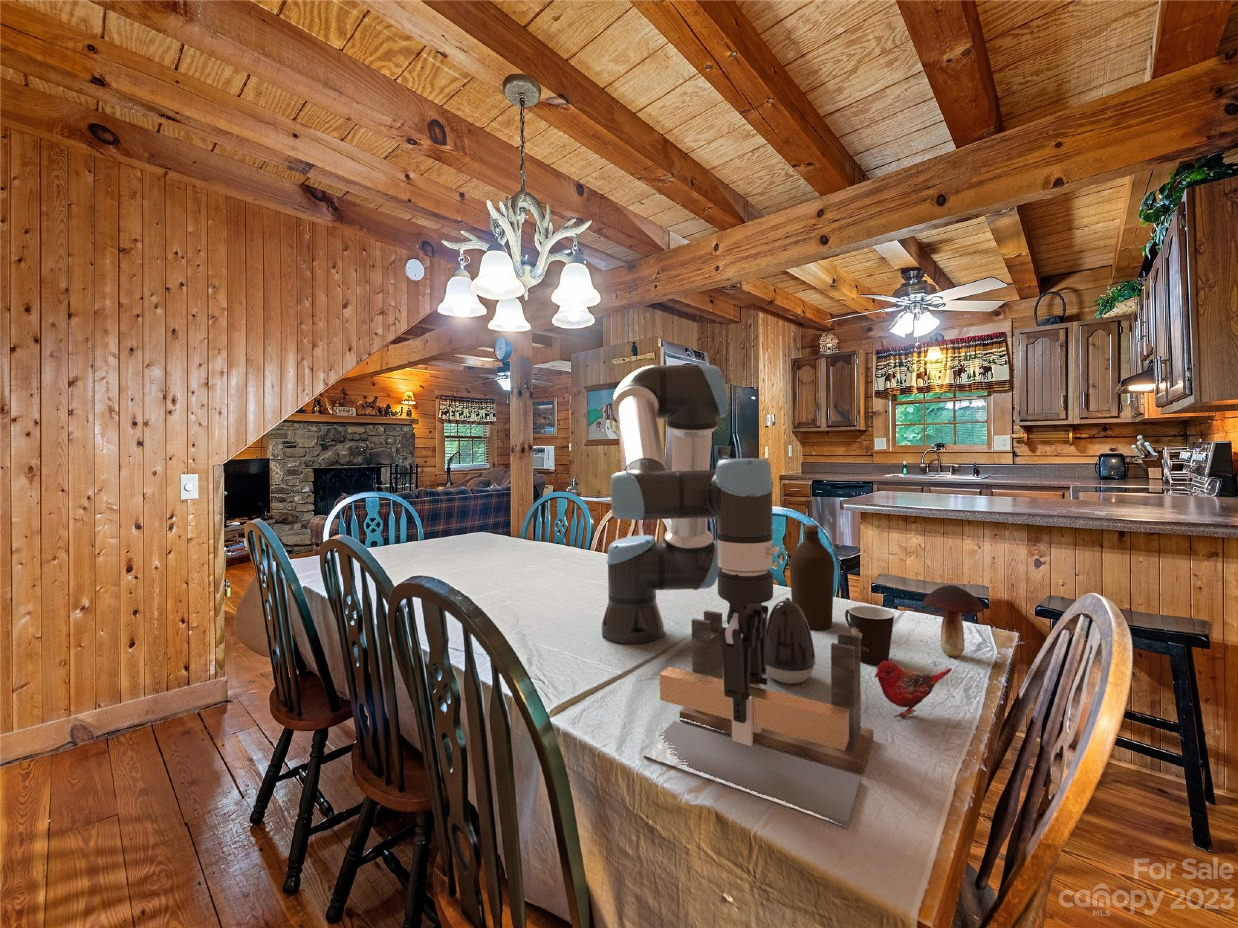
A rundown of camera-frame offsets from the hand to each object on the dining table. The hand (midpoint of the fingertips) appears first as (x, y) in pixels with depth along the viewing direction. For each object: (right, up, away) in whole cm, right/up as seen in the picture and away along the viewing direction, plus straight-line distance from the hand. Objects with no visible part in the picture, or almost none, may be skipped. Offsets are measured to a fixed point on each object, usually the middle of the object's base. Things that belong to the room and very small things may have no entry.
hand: (747, 735), depth 74 cm
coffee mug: (+35, -3, +38) cm, 52 cm away
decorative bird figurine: (+32, -4, +14) cm, 35 cm away
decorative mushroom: (+53, -3, +38) cm, 65 cm away
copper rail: (0, +2, 0) cm, 2 cm away
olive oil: (+31, -2, +59) cm, 67 cm away
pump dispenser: (+15, -4, +29) cm, 33 cm away
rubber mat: (0, -5, 0) cm, 5 cm away
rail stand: (+7, -4, +10) cm, 13 cm away
